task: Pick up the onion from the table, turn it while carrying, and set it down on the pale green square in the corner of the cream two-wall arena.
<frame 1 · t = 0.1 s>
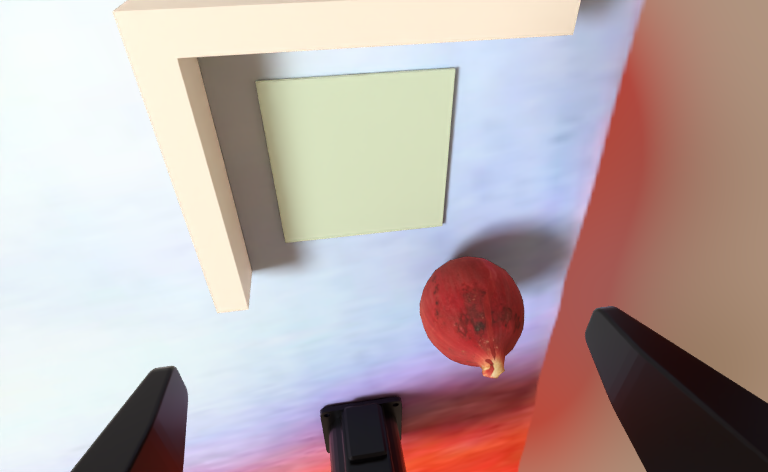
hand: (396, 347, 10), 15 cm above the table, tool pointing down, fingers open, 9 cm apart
arena: (361, 162, 23), on the table
onion: (452, 264, 29), on the table
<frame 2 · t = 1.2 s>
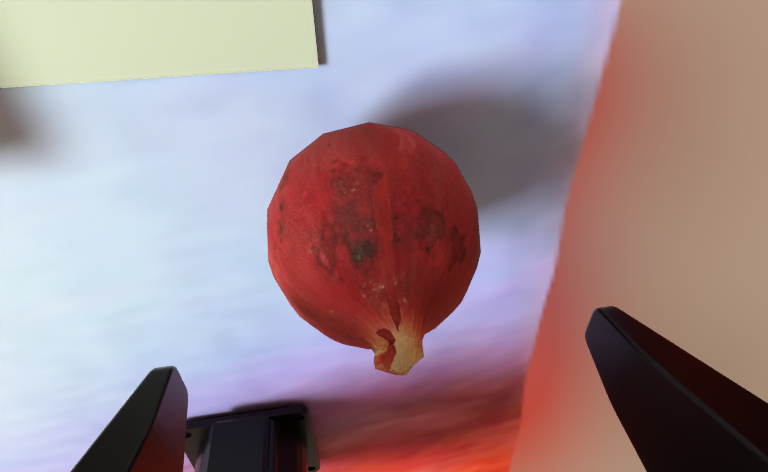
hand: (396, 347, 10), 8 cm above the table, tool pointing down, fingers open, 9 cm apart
onion: (357, 164, 16), on the table
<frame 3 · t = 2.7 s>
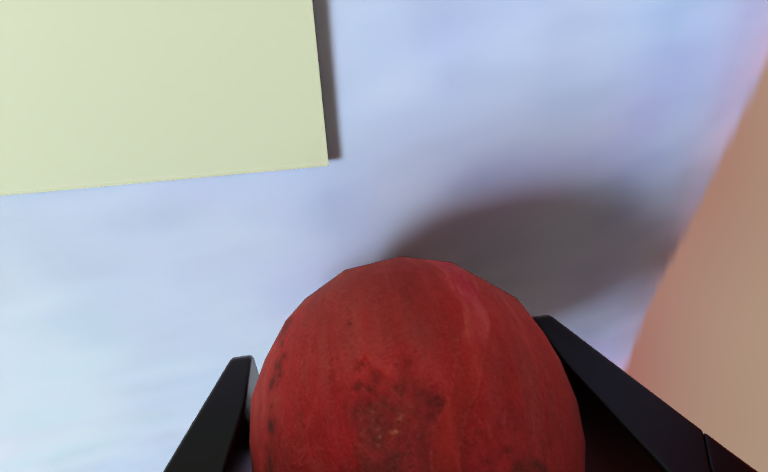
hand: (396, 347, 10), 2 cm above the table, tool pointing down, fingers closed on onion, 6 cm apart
onion: (379, 276, 12), on the table, touching gripper
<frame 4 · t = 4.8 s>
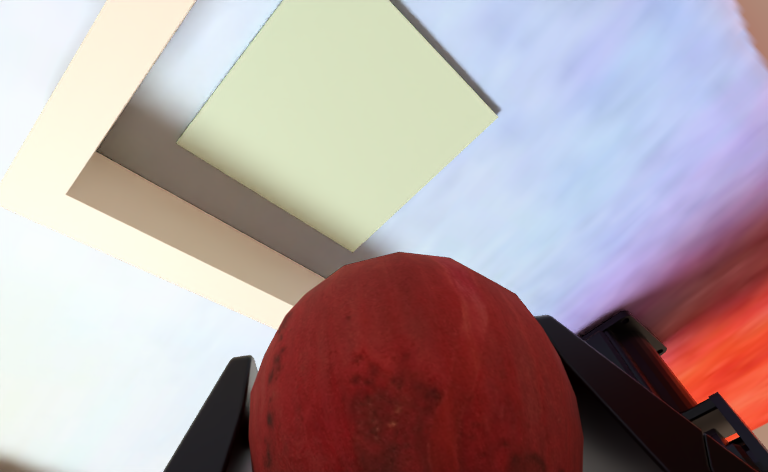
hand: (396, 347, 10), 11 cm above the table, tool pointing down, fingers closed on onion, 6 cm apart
arena: (343, 127, 18), on the table
onion: (379, 273, 12), point 9 cm above the table, touching gripper
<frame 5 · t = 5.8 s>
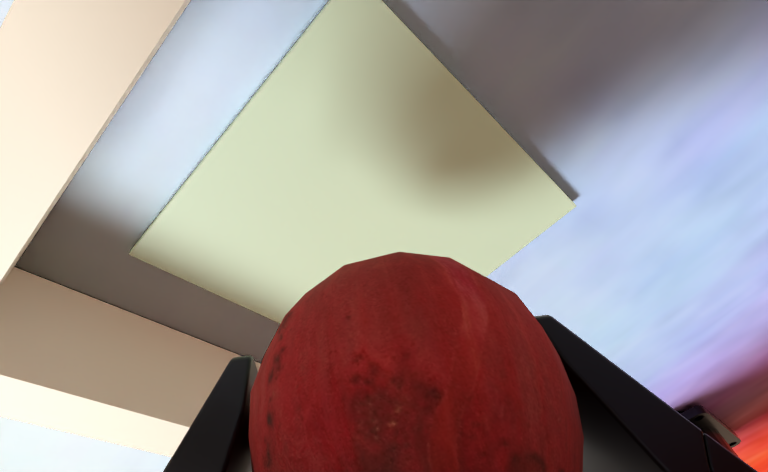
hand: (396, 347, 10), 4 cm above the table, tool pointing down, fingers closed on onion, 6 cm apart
arena: (365, 224, 13), on the table
onion: (379, 273, 12), point 2 cm above the table, touching gripper
when the fingers open (3 cm above the table, at t = 6.9 s): onion drops 1 cm, resting on arena.
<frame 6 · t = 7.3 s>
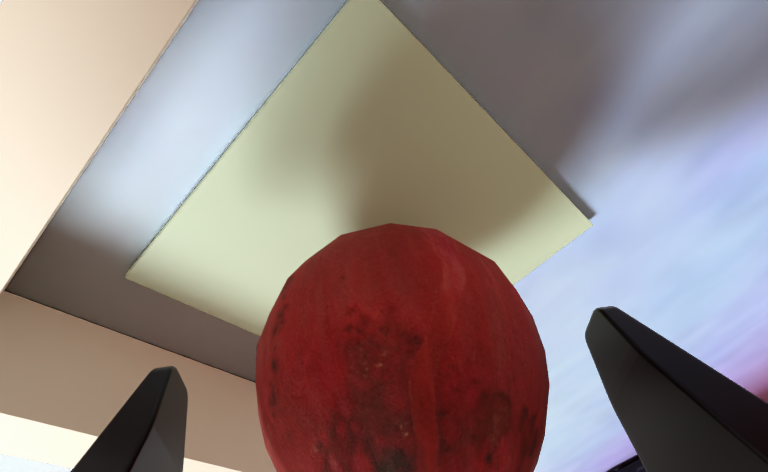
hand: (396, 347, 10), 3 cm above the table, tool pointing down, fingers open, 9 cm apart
arena: (372, 245, 12), on the table
onion: (374, 246, 12), resting on arena
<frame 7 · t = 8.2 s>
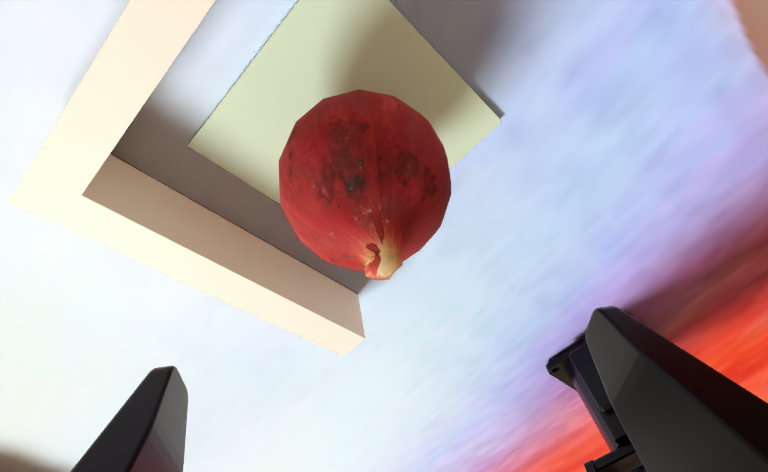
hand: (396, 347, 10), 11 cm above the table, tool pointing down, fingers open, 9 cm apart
arena: (350, 131, 19), on the table
onion: (351, 131, 19), resting on arena
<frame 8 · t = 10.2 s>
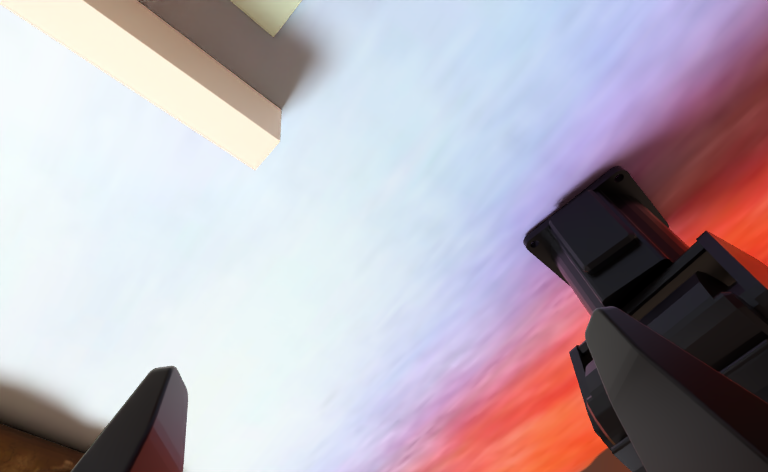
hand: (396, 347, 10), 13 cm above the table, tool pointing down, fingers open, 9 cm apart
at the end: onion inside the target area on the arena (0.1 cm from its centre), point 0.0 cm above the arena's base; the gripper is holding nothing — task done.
